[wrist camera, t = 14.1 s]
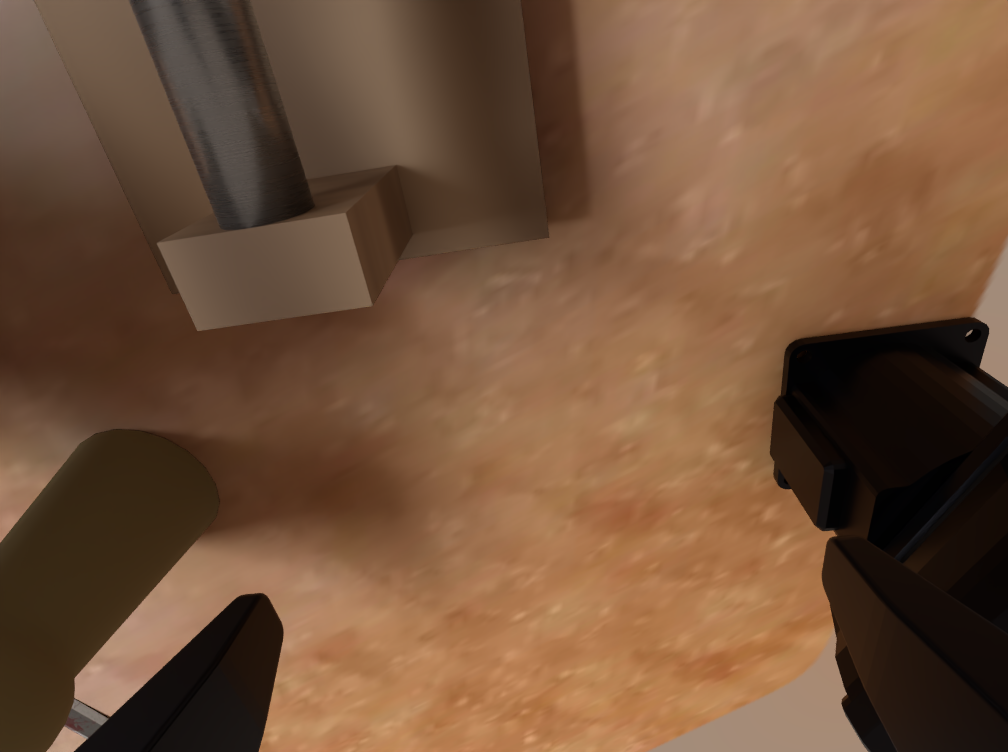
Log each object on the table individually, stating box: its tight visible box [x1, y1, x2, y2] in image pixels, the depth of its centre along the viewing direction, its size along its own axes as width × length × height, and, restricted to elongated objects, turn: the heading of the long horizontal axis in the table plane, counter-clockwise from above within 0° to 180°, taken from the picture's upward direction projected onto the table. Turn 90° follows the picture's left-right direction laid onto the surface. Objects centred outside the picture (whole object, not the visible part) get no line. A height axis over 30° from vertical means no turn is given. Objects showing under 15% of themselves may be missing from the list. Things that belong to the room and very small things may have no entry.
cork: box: [0, 429, 219, 752], centre depth 19 cm, size 6×6×11 cm
